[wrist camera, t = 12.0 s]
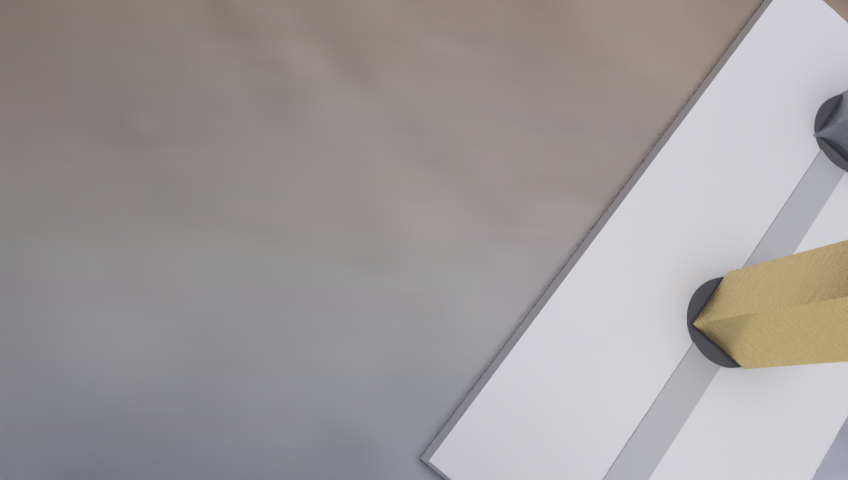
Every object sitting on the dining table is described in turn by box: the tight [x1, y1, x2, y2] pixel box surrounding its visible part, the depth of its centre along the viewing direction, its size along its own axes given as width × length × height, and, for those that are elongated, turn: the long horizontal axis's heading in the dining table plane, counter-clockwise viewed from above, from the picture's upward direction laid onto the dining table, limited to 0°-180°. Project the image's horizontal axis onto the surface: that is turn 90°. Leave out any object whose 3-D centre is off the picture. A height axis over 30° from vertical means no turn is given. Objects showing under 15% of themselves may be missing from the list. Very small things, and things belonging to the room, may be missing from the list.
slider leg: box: [693, 240, 848, 369], centre depth 30 cm, size 3×3×10 cm
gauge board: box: [420, 0, 848, 480], centre depth 37 cm, size 30×14×2 cm, turn 141°
